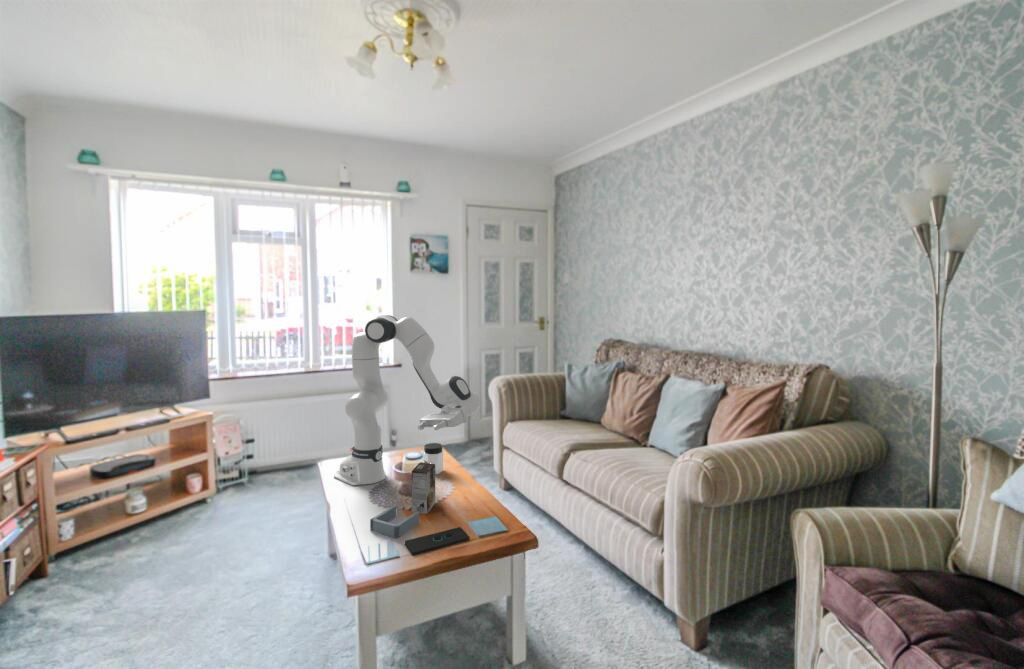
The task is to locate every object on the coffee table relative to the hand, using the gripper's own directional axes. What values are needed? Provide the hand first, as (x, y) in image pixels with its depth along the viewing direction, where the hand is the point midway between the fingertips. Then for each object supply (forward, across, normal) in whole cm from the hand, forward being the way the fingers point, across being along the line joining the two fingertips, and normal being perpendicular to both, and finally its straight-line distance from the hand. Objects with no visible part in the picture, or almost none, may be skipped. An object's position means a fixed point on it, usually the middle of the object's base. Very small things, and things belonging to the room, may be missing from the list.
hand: (427, 428), depth 189 cm
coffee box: (+11, -2, +28) cm, 30 cm away
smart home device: (+26, +20, +30) cm, 44 cm away
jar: (-16, -26, +28) cm, 42 cm away
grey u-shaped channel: (+27, +2, +25) cm, 37 cm away
